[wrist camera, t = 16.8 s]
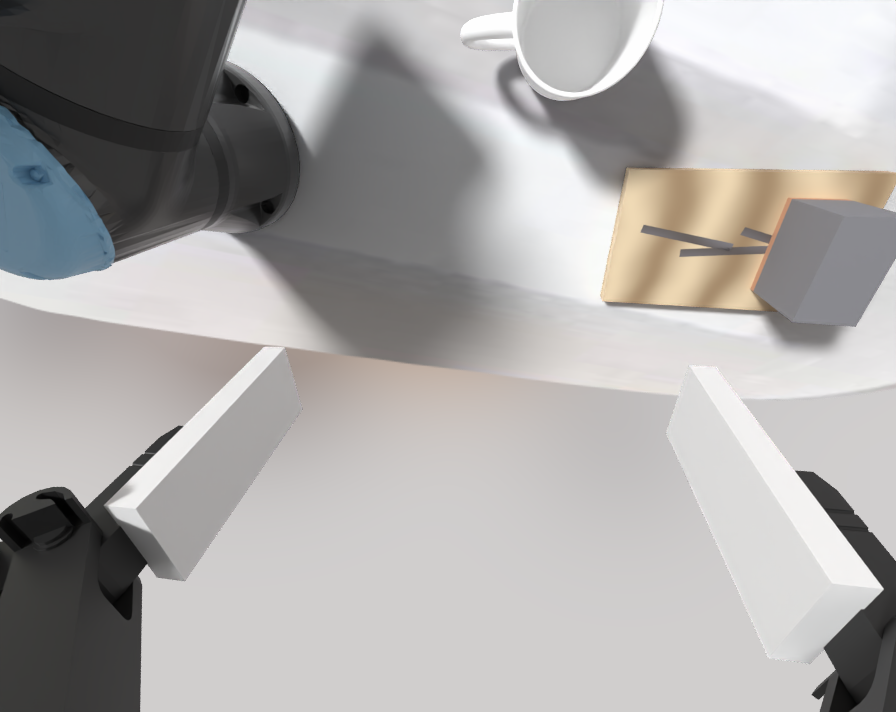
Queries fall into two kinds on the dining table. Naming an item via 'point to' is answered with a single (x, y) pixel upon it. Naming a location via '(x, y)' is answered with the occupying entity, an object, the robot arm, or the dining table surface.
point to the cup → (569, 41)
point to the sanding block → (826, 260)
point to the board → (712, 230)
